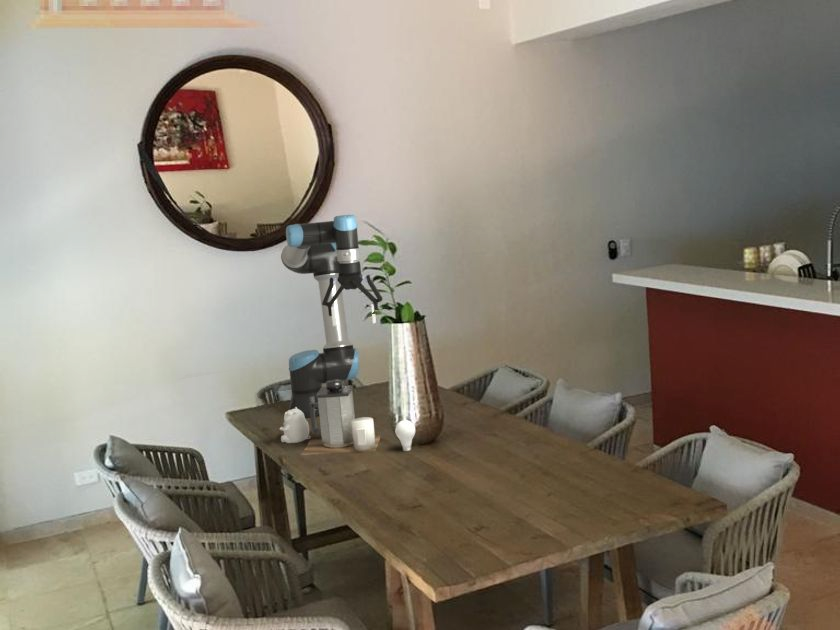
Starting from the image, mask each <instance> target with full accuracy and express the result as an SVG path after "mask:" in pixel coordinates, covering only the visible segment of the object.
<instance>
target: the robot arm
mask: <svg viewBox="0 0 840 630" xmlns="http://www.w3.org/2000/svg"><path fill="white" fill-rule="evenodd" d="M358 235H359V234H358V223H357V216H355V214H343V215H342V214H341V215H336V216H335V215H334V217H333V220H327V221H319V222H308V223H295V224H289V225H287V226H286V228H285V237H286V243H287V244H286V245H285V246H284V247H283V249H282V251H281V254H280V259H281V262H282V264H283V266H284V267H285V268H286V269H288V270H289V271H291V272H294V273H295V274H296V273H297V274H300V275H307V274H313V279H314V280H316V281H317V282H318V289H319V296H320V304H321V311H322V320H323V328H324V335H325V345H324V346H323V347H322V350H323V352H319V350H318V349H311V350H310V349H309V350H303V351H300V352H296V353H295V354H292V355H291V356H290V357H289V358H288V371H289V377H290V379H289V380H290V387H291V388H290V389H291V397H290V402H289V405H288V406H289V408H288V410H292V409H296V408H295V407H297V409H299V410H301V411H302V412H303V413H304V416H305V418H311V415H310V406H309V404H310V403H318V398H316V395H317V393H318V392H319V390H320V389H321V387H323V384H326V382H327V381H329V380H341V381H342V382H346V381H349V380H354V379H356V378H357V377H358V374H359V370H360V369H359V368H360V354H359V351H358V348H355V347H354V344H353V343H352V342H351V341H350V340H349V335H348V334H349V333H348V327H347V319H346V318H347V317H346V312H345V305H344V298H343V297H344V296H343V290H346V291H347V290H348V291H349V290H357V289H359V291H361V292H362V293H363V294H364V295H365V297H367V299H369V300H370V301H371V307H370V308H371V318H372V319H371V320H372V324H373V325H374V324H376V323H377V317H376V315H377V314H376V313H375V314H372V313H373V312H374V311H375V310H378V311H379V303H381V302H382V301H383V296H382V295H381V293H380V291H379V290H378V288H377V286H376V285H375V284H374V281H373V279H372V275H371V274H370V273H369V274H366V275H363V274H362V269H361V262H360V260H361V255H360V248H359V236H358ZM363 280H364V281H365V282H366V283H367V284H368V286H369V287H370V289H371V291H372V292H373V294H374V295H373V294H372V292H370V291H369V290H368V289H367V288H366V287H365V286H364V285H363V284H362V282H363ZM314 409H315V417H317V416H319V407H316V408H314Z"/></svg>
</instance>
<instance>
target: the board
mask: <svg viewBox="0 0 840 630" xmlns="http://www.w3.org/2000/svg"><path fill="white" fill-rule="evenodd" d="M381 437H382V435H381V434H380V435H375V444H376V447H375V448H373V449H371V450H366V451H365V452H374V451H377V448H378V445H379V442H380V439H381ZM358 452H359V453H360V452H362V451H358V450H355V449H354V445H352V446H349V447H344V448H326V447H324V446H323V443H322V438H319V439H317V438H315V439H309V441H308V443H307V444H306V446H305V448H304V449H303V451H302V453H301V454H300V456H307V455H308V456H309V455H327V454H341V453H343V454H344V453H345V454H346V453H358Z"/></svg>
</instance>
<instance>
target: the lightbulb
mask: <svg viewBox="0 0 840 630" xmlns="http://www.w3.org/2000/svg"><path fill="white" fill-rule="evenodd" d="M394 431H395V435H396V437H397V438H398V439H399V441H400V444H401V446H402V451H403V452H409V451H411V450H412V443H413V438H414V437H415V434H416V426H415V425H414V423H413V422H412V421H410V420H409V419H408V420H407V419H403V420H400V421H399V422H398V423H397V424H396V425H395V429H394Z"/></svg>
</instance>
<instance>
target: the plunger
mask: <svg viewBox="0 0 840 630" xmlns="http://www.w3.org/2000/svg"><path fill="white" fill-rule="evenodd" d="M342 382H343V381H341V380H329V381H327V382H326V383H325V384H326V385H325V387H327V390H330V391H337V390H339V389H342V386H343V385H342Z"/></svg>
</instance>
